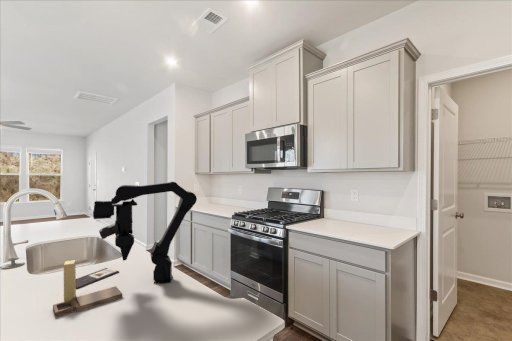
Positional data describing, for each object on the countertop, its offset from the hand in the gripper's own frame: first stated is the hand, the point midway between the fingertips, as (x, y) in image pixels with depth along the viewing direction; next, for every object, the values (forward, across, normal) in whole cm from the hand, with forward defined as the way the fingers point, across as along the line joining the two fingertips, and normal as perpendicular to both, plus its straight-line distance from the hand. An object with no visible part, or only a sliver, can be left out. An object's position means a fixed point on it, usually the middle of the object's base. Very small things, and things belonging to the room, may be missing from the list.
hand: (124, 256), depth 104 cm
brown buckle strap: (+12, +8, -11) cm, 18 cm away
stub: (+12, +1, -18) cm, 21 cm away
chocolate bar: (+13, -16, -12) cm, 23 cm away
